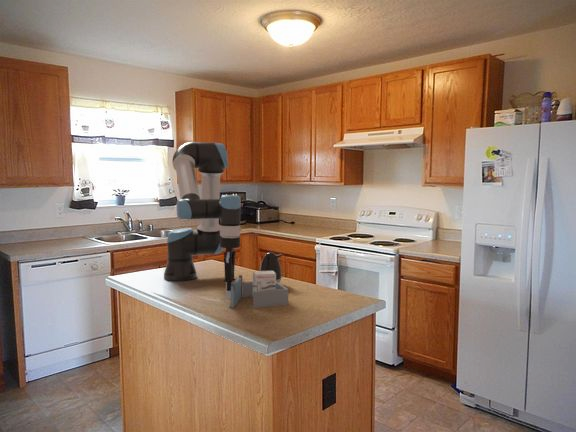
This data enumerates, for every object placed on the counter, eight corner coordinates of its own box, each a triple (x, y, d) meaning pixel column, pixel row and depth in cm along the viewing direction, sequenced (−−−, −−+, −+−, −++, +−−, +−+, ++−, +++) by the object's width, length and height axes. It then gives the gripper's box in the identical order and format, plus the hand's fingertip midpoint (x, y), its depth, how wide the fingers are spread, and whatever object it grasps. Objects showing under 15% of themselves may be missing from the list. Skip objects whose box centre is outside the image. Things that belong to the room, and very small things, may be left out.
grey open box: (238, 297, 169) (238, 275, 169) (273, 293, 175) (273, 272, 174) (249, 308, 154) (249, 284, 154) (288, 304, 160) (288, 281, 159)
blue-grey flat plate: (238, 297, 168) (238, 277, 167) (241, 297, 168) (241, 277, 167) (230, 307, 155) (230, 286, 154) (233, 307, 155) (233, 286, 154)
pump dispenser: (279, 288, 183) (279, 254, 182) (256, 287, 185) (256, 253, 184) (284, 283, 193) (284, 250, 192) (262, 281, 195) (262, 249, 194)
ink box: (253, 304, 160) (254, 274, 159) (252, 301, 164) (252, 271, 163) (276, 303, 162) (276, 273, 160) (273, 299, 166) (274, 270, 165)
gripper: (237, 239, 150) (237, 303, 152) (242, 234, 163) (241, 293, 165) (216, 238, 150) (216, 303, 153) (223, 234, 163) (222, 293, 166)
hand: (229, 298), depth 159 cm, fingers closed
